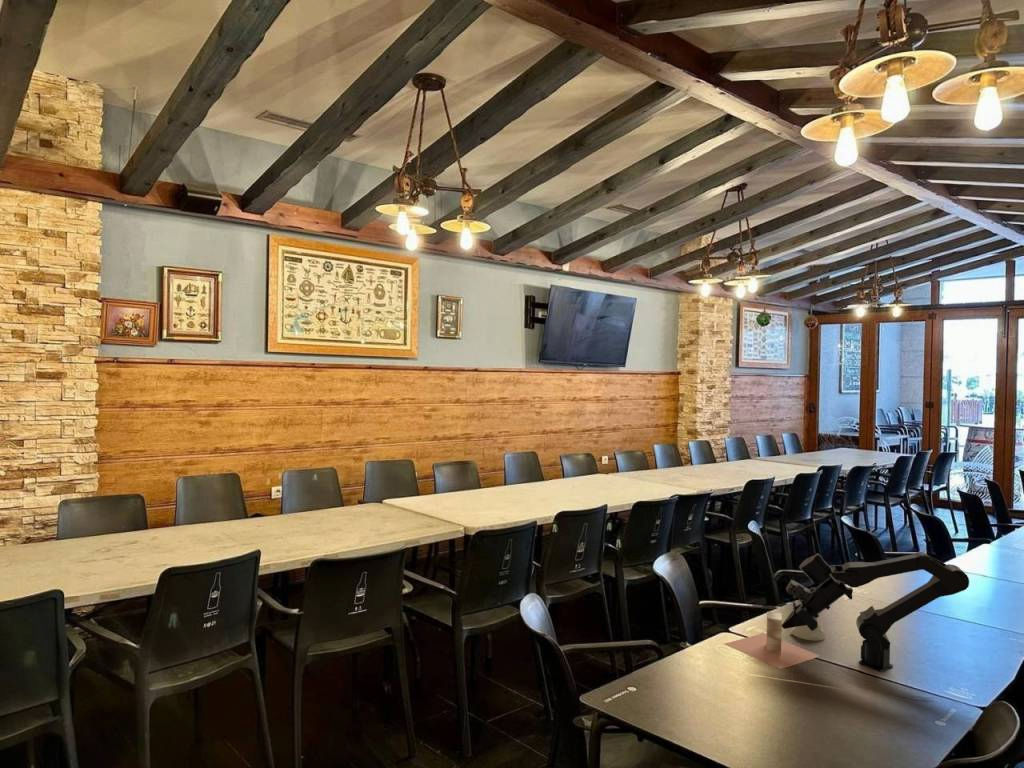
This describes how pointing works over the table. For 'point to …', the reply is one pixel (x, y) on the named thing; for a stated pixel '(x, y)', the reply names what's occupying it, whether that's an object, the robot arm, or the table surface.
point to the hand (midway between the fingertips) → (782, 627)
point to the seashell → (808, 633)
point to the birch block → (774, 632)
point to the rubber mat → (757, 649)
